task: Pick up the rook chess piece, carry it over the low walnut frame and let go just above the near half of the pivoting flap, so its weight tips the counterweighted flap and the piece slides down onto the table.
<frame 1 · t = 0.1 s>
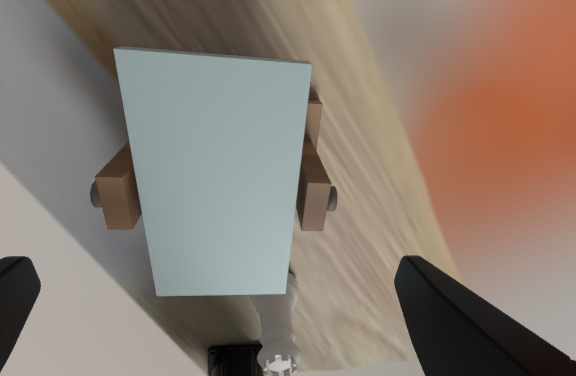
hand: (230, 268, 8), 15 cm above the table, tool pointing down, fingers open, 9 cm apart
rook chess piece: (273, 281, 29), on the table
flap frame: (228, 152, 22), on the table
pivoting flap: (222, 191, 17), point 5 cm above the table, hinge at 0.0°
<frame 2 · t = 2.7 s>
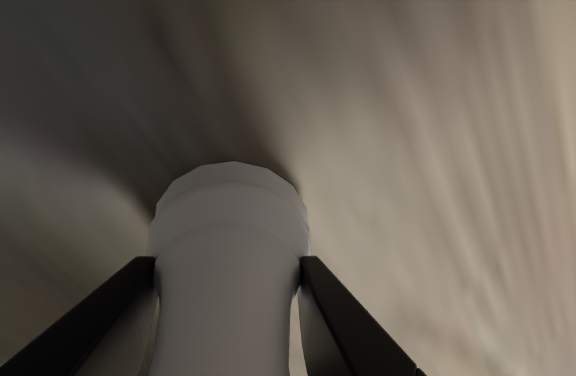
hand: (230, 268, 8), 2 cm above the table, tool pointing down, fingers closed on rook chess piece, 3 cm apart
rook chess piece: (234, 217, 10), on the table, touching gripper
when the fingers open (10 cm above the table, at t = 5.2 s): rook chess piece drops 6 cm, point 2 cm above the table.
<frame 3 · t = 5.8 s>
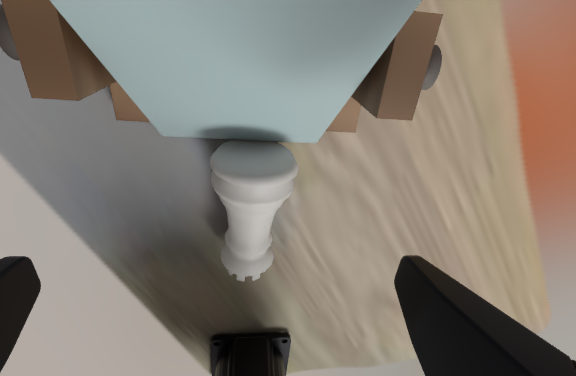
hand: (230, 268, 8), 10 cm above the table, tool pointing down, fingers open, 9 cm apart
rook chess piece: (255, 150, 15), point 2 cm above the table
flap frame: (243, 38, 15), on the table
pivoting flap: (239, 37, 9), point 6 cm above the table, hinge at -51.3°
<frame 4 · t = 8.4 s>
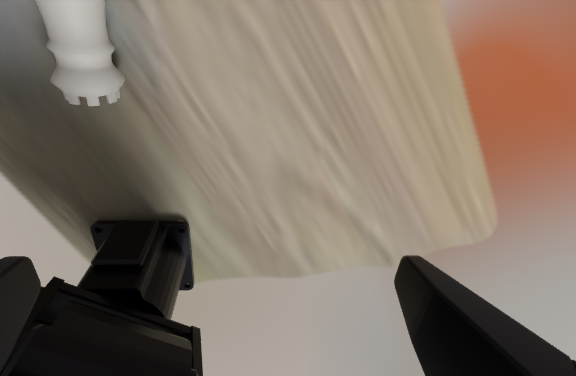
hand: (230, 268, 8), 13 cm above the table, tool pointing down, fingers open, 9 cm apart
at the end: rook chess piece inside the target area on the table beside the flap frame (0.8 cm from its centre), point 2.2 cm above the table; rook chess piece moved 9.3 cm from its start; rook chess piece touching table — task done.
